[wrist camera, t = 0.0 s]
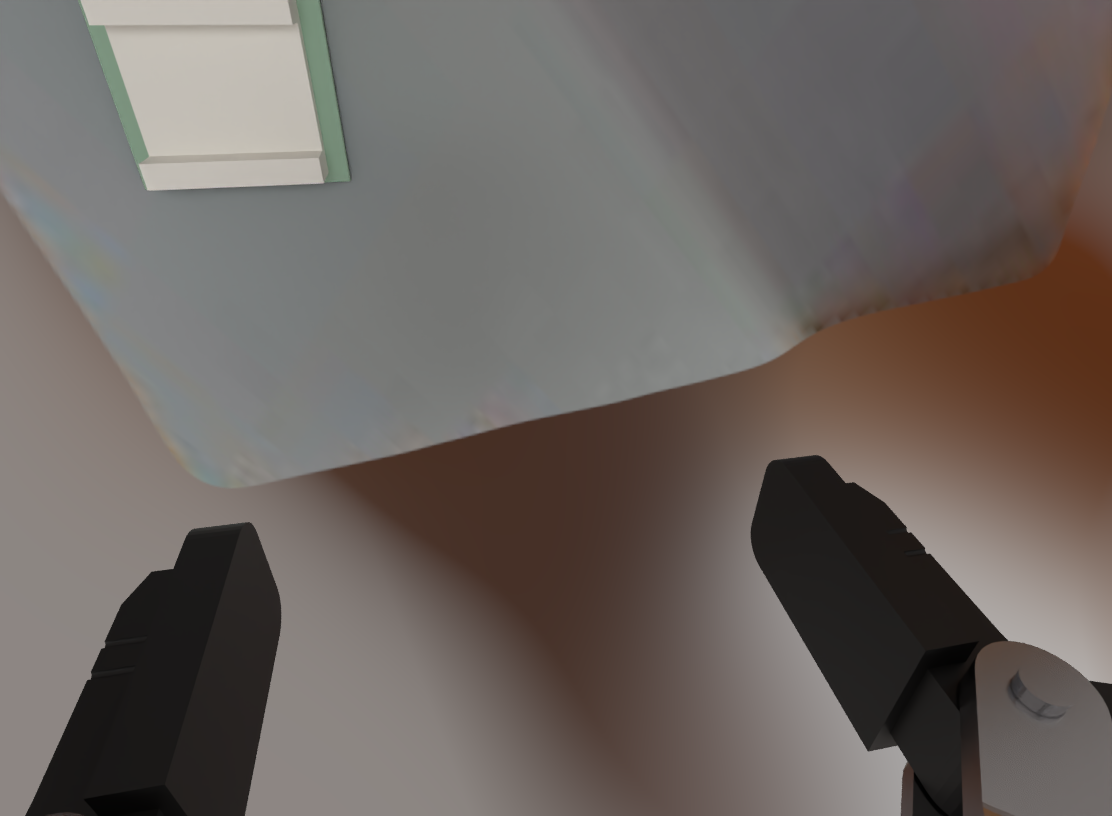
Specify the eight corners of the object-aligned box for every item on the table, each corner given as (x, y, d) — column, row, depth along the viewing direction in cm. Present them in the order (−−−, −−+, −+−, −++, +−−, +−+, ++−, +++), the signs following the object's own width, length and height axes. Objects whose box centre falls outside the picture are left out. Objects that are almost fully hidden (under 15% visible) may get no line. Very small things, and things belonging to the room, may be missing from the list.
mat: (72, -27, 27) (68, -27, 27) (315, -25, 29) (314, -25, 28) (148, 187, 32) (145, 189, 32) (350, 179, 34) (349, 181, 33)
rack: (99, -13, 27) (76, -11, 25) (293, -12, 28) (285, -10, 27) (163, 178, 32) (148, 191, 30) (328, 172, 33) (324, 184, 31)
